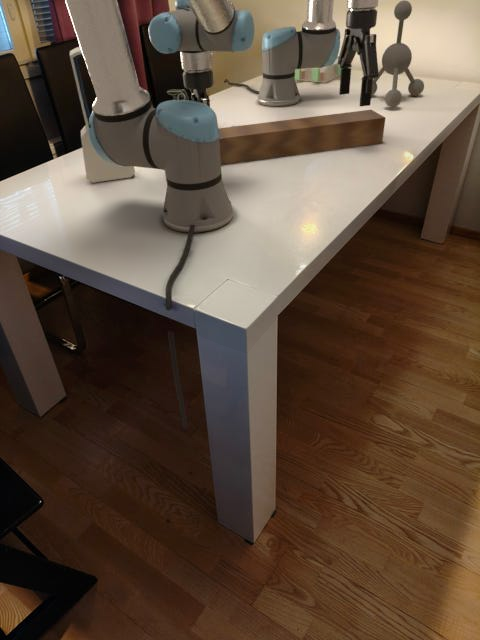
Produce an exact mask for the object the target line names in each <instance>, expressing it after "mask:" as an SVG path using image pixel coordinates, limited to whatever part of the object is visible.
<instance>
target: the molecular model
mask: <svg viewBox="0 0 480 640" xmlns="http://www.w3.org/2000/svg"><path fill="white" fill-rule="evenodd" d="M412 6H413V5H412V4H411V2H410V1H408V0H401V1H399V2H398V3H396V5H395V7H394V9H393V10H394V11H393V14H394V18H395V19H396V20H398V28H397V34H396V35H397V36H396V42H395V43H391V45H389V46H387V48H386V49H385V50H384V52H383V53H382V57H381V66H382V67H381V68H380V70H378V77H377V78H374V79H373V84H372V93H371V97H372V96H373V95H375V94H376V93H377V91H378V83H377V82H378V81H379V79H380V78H381V76H382V75H383V74H384V72H386V73H387V74H389V75H391V76H393V77H392V87H391V90H388V91H387V92H386V94H385V97H384V102H385V104H386V105H387V107H390V108H396V107H398V106H399V105H400V104H401V102H402V100H403V95H402V92H401V91H400V90H399V89H398V81H399V75H401V74H404V73H405V75H406V77H407V78H408V81H409V83H408V88H407V89H408V90H407V91H408V93H409V94H410V95H411V96H413V97H415V96H419V95H421V94H422V93H423V91H424V89H425V83H424V81H423V80H422V79H420V78H414V76H413V74H412V73H411V71H410V69H409V67H410V65H411V63H412V59H413V54H412V51H411V49H410V47H409V46H408V45H407V44H405V43H403V42H402V37H403V31H404V23H405V20H407V19H409V18H410V16H411V14H412V11H413V7H412Z"/></svg>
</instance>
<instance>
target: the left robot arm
mask: <svg viewBox="0 0 480 640" xmlns="http://www.w3.org/2000/svg"><path fill="white" fill-rule="evenodd" d="M64 3H65V4H66V8H67V10H68V14H69V16H70V20H71V22H72V25H73V29H74V32H75V34H76V35H75V36H76V37H77V41H78V45H79V47H81V50H82V53H83V56H82V57H83V59H84V62H85V65H86V68H87V72H88V74H89V77H90V80H91V83H92V86H93V89H94V93H95V96H96V97H95V99H94V101H93V103H92V106H91V108H92V111H91V113H90V118H89V125H90V126H91V128H89V136H90V140H91V143H92V145H93V147H94V149H95V151H96V152H97V154H98V155H99V156H100V157H101V158H102V159H104V160H105V161H107V162H109V163H113V164H117V165H121V166H134V168H135V167H136V168H146V169H154V170H163V171H164V174H165V180H166V190H165V191H166V192H165V196H164V203H163V207H162V218H163V222H164V224H165V226H167V227H168V228H169V229H171V230H173V231H177V232H180V233H188V234H187V238H186V242H185V246H184V249H183V252H182V255H181V257H180V259H179V261H178V263H177V265H176V266H175V268H174V269H173V270H172V272H171V273H170V275H169V277H168V279H167V283H166V285H165V309H166V311H171V310H172V308H173V305H172V303H173V301H172V288H173V287H172V286H173V284H174V280H175V279H176V276H178V274H179V272H180V271H181V270H182V268H183V266H184V264H185V263H186V259H187V257H188V254H189V251H190V248H191V245H192V240H193V236H194V234H195V233H196V234H197V233H205V232H206V233H207V232H210V231H215V230H216V229H220V228H222V227H224V226H226V225H227V224H228V223H230V221H231V220H232V218H233V216H234V212H233V211H234V210H233V205H232V201H231V200H230V197H229V195H228V192H227V190H226V187H225V184H224V182H223V175H222V174H223V173H222V165H221V158H220V143H219V135H220V133H219V129H218V128H219V124H218V117H217V113H216V112H215V111H214V109H213V108H212V107H211V99H210V96H209V94H207V91H206V90H207V89H210V88H212V87H213V86H214V83H215V81H214V71H213V69H211V68H212V67H213V60H212V58H214V56H215V55H214V53H212V52H225V53H226V52H229V53H234V52H235V53H236V52H246V51H249V50H250V49H251V47H252V45H253V43H254V38H255V21H254V18H253V14H252V13H251V12H250V11H248V10H242V9H240V8H239V9H236V8H235V6H234V4H233V3H232V1H231V0H174V10H170V11H162V12H161V13H159V14H157V15H156V16H153V18H152V19H151V20H150V23H149V25H148V37H149V40H150V43H151V45H152V46H153V48H154V49H155V50H156V51H157V52H159V53H161V54H165V55H168V54H174V53H176V52H179V54H180V64H181V69H182V70H183V72H182V80H183V87H184V88H185V89H186V90H189V91H190V93H191V96H190V97H191V99H190V100H186V99H185V100H180V101H178V100H173V99H171V100H170V99H169V100H166V101H162V102H160V103H159V104H158V105H157V106H156V108H154V106H153V103H152V99H151V95H150V93H149V91H147V90H146V89H144V88H143V87H141V86H140V83H139V79H138V75H137V71H136V68H135V64H134V60H133V56H132V53H131V49H130V45H129V40H128V37H127V33H126V29H125V25H124V22H123V21H124V20H123V17H122V14H121V10H120V7H119V3H118V0H64ZM167 337H168V344H169V345H168V347H169V353H170V360H171V368H172V374H173V379H174V385H175V390H176V395H177V400H178V407H179V411H180V417H181V422H182V428H183V429H184V430H187V429H188V428H189V425H188V417H187V413H186V408H185V407H186V406H185V401H184V396H183V390H182V385H181V379H180V373H179V367H178V358H177V352H176V344H175V333H174V331H171V330H167Z"/></svg>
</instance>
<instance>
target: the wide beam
mask: <svg viewBox="0 0 480 640" xmlns="http://www.w3.org/2000/svg"><path fill="white" fill-rule="evenodd" d="M385 124H386V117H385V116H384V115H382V114H380V113H378V112H377V111H374V110H372V109H365V110H356V111H349V112H339V113H332V114H325V115H324V114H323V115H317V116H309V117H307V116H306V117H300V118H292V119H284V120H276V121H275V120H273V121H267V122H260V123H250V124H244V125H243V124H242V125H235V126H227V127H218V129H219V133H220V135H219V143H220V158H221V166H225V165H231V164H232V165H233V164H239V163H246V162H247V163H248V162H253V161H261V160H268V159H275V158H276V159H277V158H284V157H291V156H297V155H298V156H299V155H306V154H312V153H320V152H327V151H335V150H343V149H350V148H357V147H365V146H366V147H367V146H372V145H378V144H380V145H381V144H383V140H384V133H385Z"/></svg>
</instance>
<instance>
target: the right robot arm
mask: <svg viewBox="0 0 480 640" xmlns="http://www.w3.org/2000/svg"><path fill="white" fill-rule="evenodd" d="M334 1H335V0H307V5H306V6H307V8H306V19H305V20H304V22H303V23H302V24H301V30H300V31H297V29H296V27H295V26H284V27H279V28H274V29H271V30H268V31H266V32H265V33H264V34H263V36H262V37H261V38H262V41H261V51H262V52H261V54H262V81H261V86H260V87H259V90H256V89H253V88H251V87H250V86H249V85H248V84H246V83H238V82H237V83H236V82H230V81H229V79H227V78H225V79H223V83H225V84H226V83H227V84H228V85H230V86H235V87H243V88H246V89H247V90H248V91H250V92H252V93H254V94H258V96H257V103H258V104H259V105H262V106H266V107H288V106H293V105H296V104H298V103H299V102H300V92H299V88H298V84H297V80H295V69H305V68H322V67H328V66H331V65H333V64H334V62H335V61H336V59H337V57H338V56H339V59H338V65H340V68H342V69H341V76H340V78H339V79H340V80H339V92H338V93H339V96H341V95H349V94H350V89H351V78H352V77H351V76H352V67H353V65H352V63H353V61H354V59H355V56H356V55H358V56H359V60H360V61H359V62H360V66H361V70H362V75H363V76H362V77H361V86H360V97H359V98H360V99H359V107H369V106H371V102H372V96H371V93H372V84H373V79H374V78H377V77H378V73H379V65H378V64H379V63H378V53H377V52H378V51H377V34H376V33H372V34H371V29H373V28H375V27H376V26H377V20H378V10H377V9H376V8H377V7H378V6H379V0H347V1H346V8H347V9H348V10H347V11H346V16H345V17H346V19H345V27H346V28H345V29H344V35H343V40H342V43H341V31H340V29H339V28H337V23H336V21H335V20H334V19H333V14H334V3H335V2H334ZM342 59H343V60H342Z"/></svg>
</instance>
